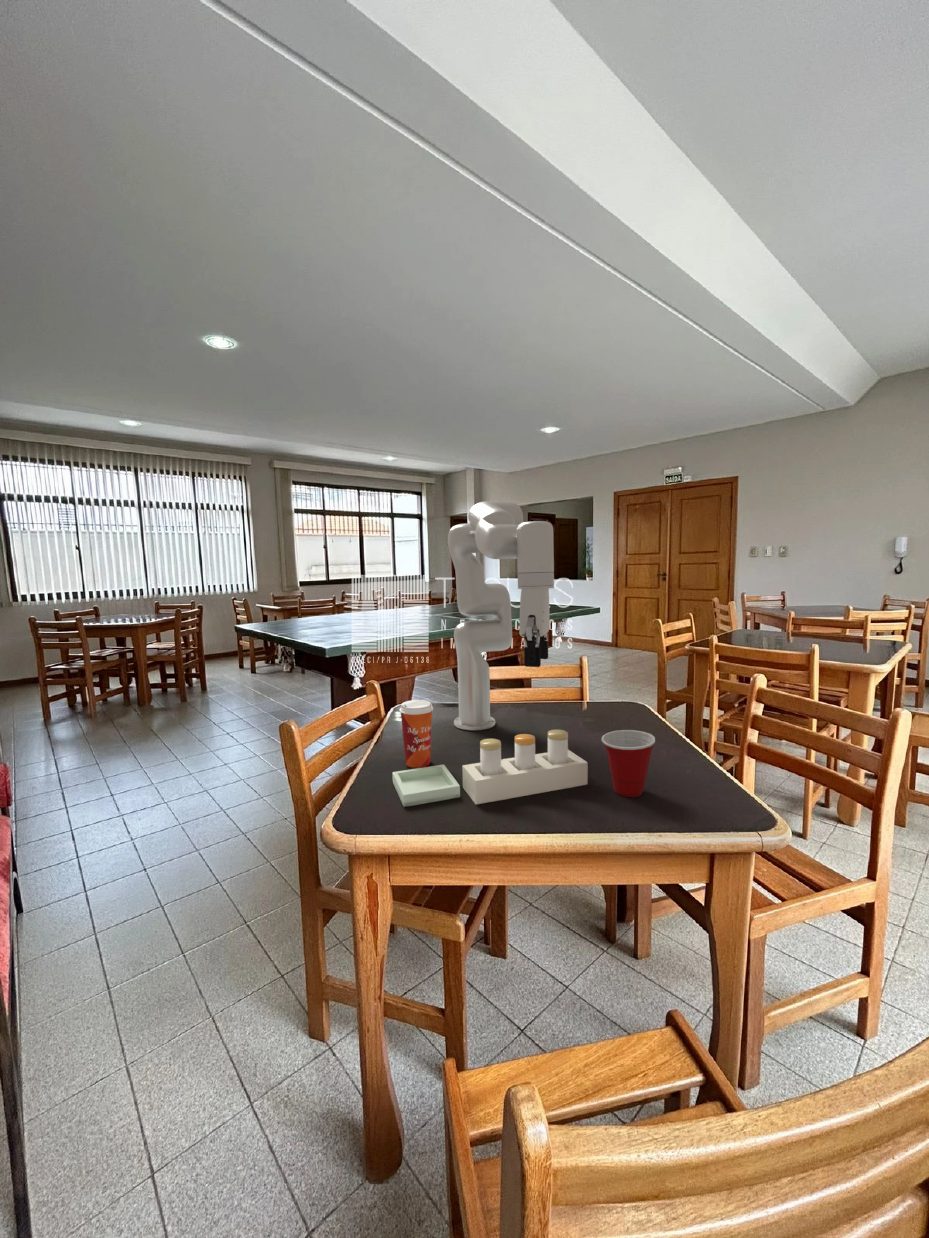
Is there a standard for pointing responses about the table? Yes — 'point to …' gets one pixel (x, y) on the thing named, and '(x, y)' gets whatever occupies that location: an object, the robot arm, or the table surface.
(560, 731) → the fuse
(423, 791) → the tray
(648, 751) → the plastic cup
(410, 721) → the coffee cup
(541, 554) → the robot arm
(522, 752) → the white and orange cylinder
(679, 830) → the table surface
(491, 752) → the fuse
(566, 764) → the holder
